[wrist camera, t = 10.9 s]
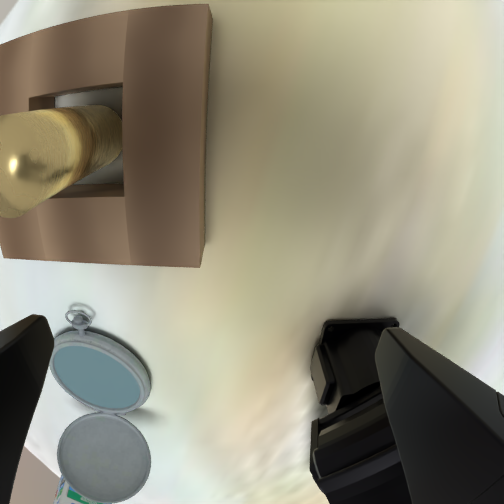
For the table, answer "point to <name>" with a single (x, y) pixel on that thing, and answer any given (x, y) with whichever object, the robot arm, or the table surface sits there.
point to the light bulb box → (69, 495)
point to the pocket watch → (101, 415)
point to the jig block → (133, 136)
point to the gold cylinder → (53, 152)
